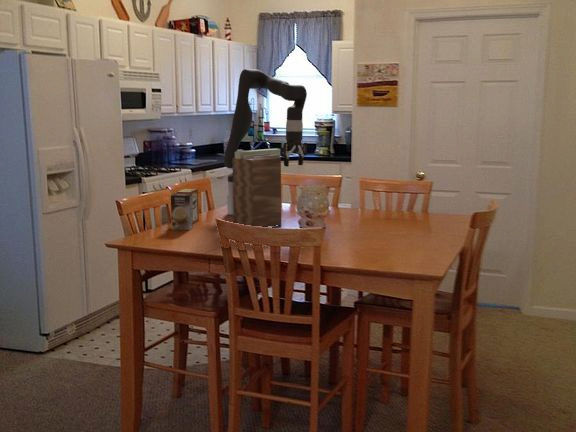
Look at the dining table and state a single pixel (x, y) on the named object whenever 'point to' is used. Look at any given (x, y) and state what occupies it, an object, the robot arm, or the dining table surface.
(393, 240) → the dining table surface
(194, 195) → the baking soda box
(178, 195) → the coffee box
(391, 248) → the dining table surface
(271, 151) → the sage bar
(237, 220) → the shelf stand
